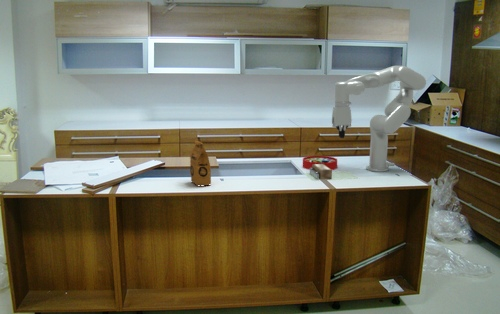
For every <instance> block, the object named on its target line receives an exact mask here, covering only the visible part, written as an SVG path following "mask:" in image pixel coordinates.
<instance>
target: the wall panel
mask: <svg viewBox="0 0 500 314" xmlns="http://www.w3.org/2000/svg"><path fill="white" fill-rule="evenodd" d="M303 175H305V176H306V177H307V178H308V179H310V180H311V181H312V182H316V181H321V180H320V179H319V180H317V179H316V178H314V177H313V176H312V175H311V174H310V172H304V173H303ZM352 179H359V177H358V176H357V175H355V174H354V173H352V172H350V171H348V170H342V171H339V170H338V171H332V179H325V180H324V181H333V180H335V181H336V180H352Z"/></svg>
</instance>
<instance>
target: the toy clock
mask: <svg viewBox="0 0 500 314" xmlns="http://www.w3.org/2000/svg"><path fill="white" fill-rule="evenodd" d="M312 164H324V165H325V166H327V167H328V168H330V169H331V170H332V171H333V170H336V169H337V168H338V158H336V157H333V156H327V155H308V156H305V157H303V158H302V168H304V169H306V170H309V171H310V169H309V168H312Z"/></svg>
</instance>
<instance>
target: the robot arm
mask: <svg viewBox="0 0 500 314" xmlns="http://www.w3.org/2000/svg"><path fill="white" fill-rule="evenodd" d="M395 82H400V83H399V85H400V86H399V88H400V89H399V93H398V94H397V95H396V96H395V97H394V98H393V99H392V100H391V101H390V103H388V104H387V106H386V107H385V108H384V114H385V115H383V114H376V115H374V116H372V117H371V119H370V121H369V129H370V144H369V145H370V146H369V164H368V165H366V167H365V168H366V170H367V171H371V172H376V173H377V172H383V173H384V172H388V171H389V170H390V168H389V167H395V162H389V161H387V159H388V158H387V157H388V146H389V143H388V142H389V138H388V137H389V136H388V135H391V134H394V133H395V132H396V131H397V130H398V129H400V128H401V126H403V124H404V123H405V122H407V120H409V118H410V116H411V113H412V112H411V107H410V105H411V104H412V102H413V98H414V91H421V90H423V89H424V88H425V87H426V85H427V80H426V78H425V76H423V75H422V74H421V73H419V72H418V71H415V70H414V69H411V67H408V66H405V65H392V66H388V67H387V68H386V67H385V68H383V69H381V70H377V71H373V72H371V73H366V74H363V75H359V76H356V77H353V78H349V79H347V80H346V81H337V82H335V84H334V100H335V101H334V107H333V109H332V112H331V113H332V114H331V124H332V126H331V127H332V128H334V129H337V130H338V137H339V138H340V139H344V138H345V136H346V130H347V129H348V128H350V127H352V123H353V122H352V121H353V119H352V110H351V107H350V105H352V102H351V101H350V95H351V96H352V95H353V96H359V95H361V94H363V92H364V91H365V89H372V88H373V89H374V88H380V87H383V86H385V85H388V84H391V83H395Z"/></svg>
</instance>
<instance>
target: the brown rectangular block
mask: <svg viewBox="0 0 500 314" xmlns="http://www.w3.org/2000/svg"><path fill="white" fill-rule="evenodd" d="M312 168H314V169H313V170H314V171H318V172H319V179H320V180H319V181H326V180H325V179H332V172H333V170H331V169H330V168H328V167H327V166H325V165H324V164H312Z"/></svg>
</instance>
